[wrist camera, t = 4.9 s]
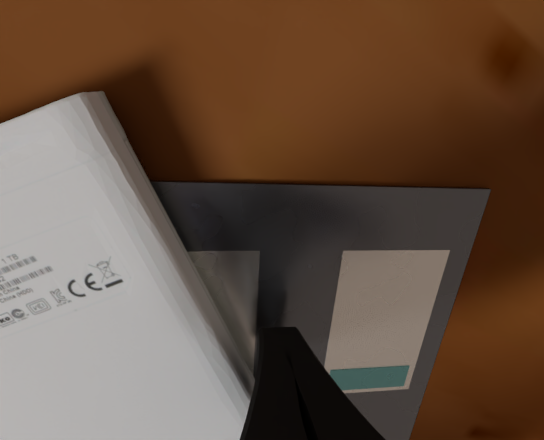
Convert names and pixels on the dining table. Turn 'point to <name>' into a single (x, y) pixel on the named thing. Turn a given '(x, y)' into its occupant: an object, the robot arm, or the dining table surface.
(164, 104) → the dining table surface
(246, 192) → the bay plate
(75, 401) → the external hard drive
